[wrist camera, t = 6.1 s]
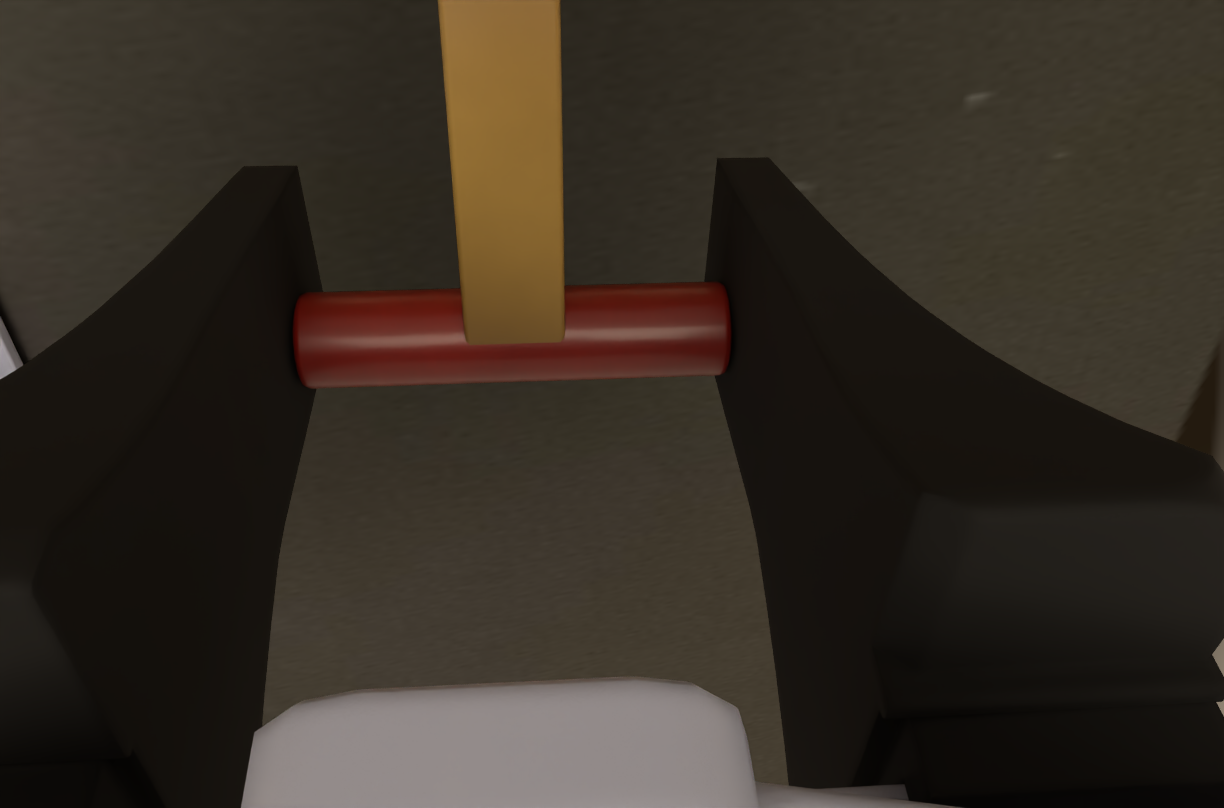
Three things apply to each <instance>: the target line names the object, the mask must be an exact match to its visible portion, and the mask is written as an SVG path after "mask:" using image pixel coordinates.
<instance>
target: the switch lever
mask: <svg viewBox="0 0 1224 808" xmlns="http://www.w3.org/2000/svg"><path fill="white" fill-rule="evenodd" d="M438 13H439V25H440V38H441V50H442V63H443V75H444V88H445V100H446V113H447V125H448V138H449V150H450V163H451V176H452V188H453V201H454V213H455V226H456V238H457V251H458V263H459V276H460V288H451V289H413V290H376V291H338V292H306V293H304V294H302V295H300V296H299V297H298V299H297V302H296V306H295V309H294V316H293V350H294V359H295V364H296V369H297V372H298V375H299V378H300V380H301V382H302V384H303V385H304V386H305V387H308V388H311V389H314V388H344V387H375V386H406V385H437V384H468V383H499V382H530V381H561V380H591V379H622V378H653V377H684V376H715V375H721V374H723V373H725V372H726V370H727V367H728V364H729V361H730V355H731V343H732V323H731V310H730V303H729V298H728V294H727V291H726V289H725V286H724V285H723V284H722V283H719V282H717V281H713V282H676V283H638V284H601V285H565V271H564V205H563V138H562V72H561V6H560V0H438Z"/></svg>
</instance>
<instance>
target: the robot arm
mask: <svg viewBox="0 0 1224 808" xmlns="http://www.w3.org/2000/svg"><path fill="white" fill-rule="evenodd" d="M713 281H717V282H719V283H722V284H723V285H724V286H725V289H726V291H727V294H728V298H729V303H730V310H731V323H732V343H731V355H730V361H729V364H728V367H727V370H726V372H725V373H723V374H721V375H715V378H716V382H717V386H718V390H719V393H720V397H721V401H722V405H723V409H724V412H725V416H726V420H727V424H728V427H729V431H730V435H731V438H732V442H733V446H734V449H735V453H736V457H737V461H738V464H739V468H740V472H741V475H742V479H743V483H744V487H745V490H746V494H747V498H748V501H749V505H750V509H751V514H752V519H753V523H754V528H755V532H756V537H757V544H758V550H759V557H760V563H761V570H762V577H763V583H764V590H765V597H766V603H767V611H768V618H769V625H770V633H771V640H772V648H773V655H774V662H775V670H776V677H777V686H778V694H779V703H780V711H781V719H782V728H783V736H784V744H785V753H786V762H787V772H788V782H789V786H787V785H779V784H771V783H763V782H755V780H754V774H753V768H752V762H751V756H750V751H749V745H748V739H747V735H746V732H745V729H744V726H743V723H742V719H741V716H740V713H739V710H738V708H737V707H735V706H734V705H732V704H730V703H728V702H726V701H725V700H723V699H721V698H719V697H717V696H715V695H713V694H711V693H710V692H708V691H706V690H704V689H702V688H700V687H698V686H696V685H694V684H693V683H691V682H689V681H679V680H669V679H659V678H649V677H638V676H626V677H605V678H584V679H563V680H543V681H522V682H501V683H480V684H460V685H439V686H418V687H397V688H377V689H357V690H352V691H347V692H342V693H337V694H332V695H327V696H322V697H317V698H312V699H307V700H302V701H300V702H299V703H297V704H295V705H294V706H292V707H290V708H289V709H288V710H286V711H285V712H283V713H282V714H280V715H279V716H277V717H276V718H274V719H273V720H271V721H270V722H269V723H267V724H266V725H264V726H263V727H262V718H263V704H264V693H265V682H266V672H267V661H268V651H269V641H270V630H271V621H272V612H273V603H274V594H275V586H276V577H277V568H278V559H279V553H280V547H281V542H282V536H283V531H284V526H285V521H286V517H287V512H288V508H289V504H290V500H291V495H292V491H293V487H294V483H295V479H296V474H297V470H298V466H299V462H300V457H301V453H302V449H303V445H304V440H305V436H306V432H307V428H308V423H309V419H310V415H311V410H312V406H313V402H314V397H315V393H316V388H314V389H311V388H308V387H305V386H304V385H303V384H302V382H301V380H300V378H299V375H298V372H297V369H296V364H295V359H294V350H293V316H294V309H295V306H296V302H297V299H298V297H299V296H300V295H302V294H304V293H306V292H323V290H322V285H321V280H320V275H319V270H318V265H317V261H316V256H315V251H314V246H313V241H312V236H311V231H310V226H309V221H308V216H307V211H306V206H305V201H304V196H303V192H302V187H301V182H300V177H299V172H298V167H297V166H246V167H243V168H242V169H241V170H240V171H239V172H238V173H237V174H236V175H235V176H234V177H233V178H232V179H231V180H230V181H229V182H228V183H227V184H226V185H225V186H224V187H223V188H222V189H221V190H220V191H219V192H218V193H217V194H216V196H215V197H214V198H213V199H212V200H211V201H210V202H209V203H208V204H207V205H206V206H205V207H204V208H203V209H202V210H201V211H200V212H199V214H198V215H197V216H196V217H195V218H194V219H193V220H192V221H191V222H190V223H189V224H188V225H187V226H186V227H185V228H184V229H183V230H182V231H181V232H180V233H179V234H178V235H177V236H176V237H175V238H174V239H173V240H172V241H171V242H170V243H169V244H168V245H167V246H166V247H165V248H164V249H163V251H162V252H161V253H160V254H159V255H158V256H157V257H156V258H155V259H154V260H153V261H151V262H150V263H149V264H148V265H147V266H146V267H145V268H144V269H143V270H141V271H140V272H139V273H138V274H137V275H136V276H135V277H134V278H133V279H131V280H130V281H129V282H128V283H127V284H126V285H125V286H124V287H123V288H121V289H120V290H119V291H118V292H117V293H116V294H115V295H114V296H112V297H111V298H110V299H109V300H108V301H107V302H106V303H105V304H104V305H102V306H101V307H100V308H99V309H98V310H97V311H95V312H94V313H93V314H92V315H91V316H89V317H88V318H87V319H86V320H84V321H83V322H82V323H81V324H79V325H78V326H77V327H75V328H74V329H73V330H71V331H70V332H69V333H68V334H66V335H65V336H64V337H62V338H61V339H59V340H58V341H57V342H55V343H54V344H52V345H51V346H50V347H48V348H47V349H45V350H44V351H43V352H41V353H40V354H39V355H37V356H36V357H34V358H33V359H32V360H30V361H29V362H27V363H26V364H24V365H23V363H22V361H21V359H20V357H19V355H18V352H17V350H16V348H15V346H14V344H13V342H12V340H11V338H10V336H9V334H8V331H7V329H6V327H5V325H4V323H3V321H2V319H1V317H0V808H1224V716H1223V714H1222V713H1221V710H1220V709H1219V707H1218V705H1217V703H1216V702H1222V701H1223V700H1224V677H1223V675H1222V673H1221V671H1220V669H1219V667H1218V665H1217V663H1216V662H1215V659H1214V658H1213V656H1212V654H1213V652H1214V651H1215V650H1216V648H1217V647H1218V645H1219V644H1220V643H1221V641H1222V640H1223V638H1224V472H1223V470H1222V469H1221V467H1220V466H1219V465H1218V463H1217V462H1216V461H1215V459H1214V458H1213V456H1211V455H1208V454H1206V453H1203V452H1200V451H1198V450H1195V449H1193V448H1190V447H1187V446H1185V445H1182V444H1180V443H1177V442H1174V441H1172V440H1169V439H1166V438H1164V437H1161V436H1159V435H1156V434H1153V433H1151V432H1148V431H1145V430H1143V429H1140V428H1138V427H1135V426H1132V425H1130V424H1127V423H1125V422H1123V421H1120V420H1118V419H1116V418H1113V417H1111V416H1109V415H1107V414H1105V413H1103V412H1100V411H1098V410H1096V409H1094V408H1092V407H1090V406H1087V405H1085V404H1083V403H1081V402H1079V401H1077V400H1075V399H1072V398H1070V397H1068V396H1066V395H1064V394H1062V393H1060V392H1058V391H1056V390H1055V389H1053V388H1051V387H1049V386H1047V385H1045V384H1043V383H1041V382H1039V381H1037V380H1035V379H1033V378H1032V377H1030V376H1028V375H1026V374H1025V373H1023V372H1021V371H1020V370H1018V369H1016V368H1014V367H1013V366H1011V365H1009V364H1007V363H1006V362H1004V361H1002V360H1001V359H999V358H997V357H995V356H994V355H992V354H990V353H989V352H987V351H986V350H984V349H982V348H981V347H979V346H978V345H976V344H975V343H973V342H971V341H970V340H968V339H967V338H965V337H964V336H963V335H961V334H960V333H958V332H957V331H955V330H954V329H953V328H951V327H950V326H948V325H947V324H946V323H944V322H943V321H941V320H940V319H939V318H937V317H936V316H934V315H933V314H931V313H930V312H929V311H927V310H926V309H925V308H923V307H922V306H921V305H920V304H918V303H917V302H916V301H914V300H913V299H912V298H911V297H909V296H908V295H907V294H906V293H905V292H903V291H902V290H901V289H900V288H899V287H897V286H896V285H895V284H894V283H893V282H892V281H890V280H889V279H888V278H887V277H886V276H885V275H883V274H882V273H881V272H880V271H879V270H878V269H876V268H875V267H874V266H873V265H872V264H871V263H870V262H869V261H868V260H867V259H866V258H864V257H863V256H862V255H861V254H860V253H859V252H858V251H857V250H856V249H855V248H854V247H853V246H852V245H851V244H850V243H849V242H848V241H847V240H846V239H845V238H844V237H843V236H842V235H841V234H840V233H839V232H838V231H837V230H836V229H835V228H834V227H833V226H832V225H831V224H830V223H829V222H828V221H827V220H826V219H825V218H824V217H823V216H822V215H821V214H820V213H819V212H818V211H817V210H816V208H815V207H814V206H813V205H812V204H811V203H810V202H809V201H808V200H807V199H806V198H805V197H804V196H803V194H802V193H801V192H800V191H799V190H798V189H797V188H796V187H795V186H794V185H793V184H792V182H791V181H790V180H789V179H788V178H787V177H786V176H785V175H784V174H783V173H782V172H781V170H780V169H779V168H778V167H777V166H776V165H775V164H774V163H773V162H772V161H771V160H770V159H769V158H717V167H716V176H715V186H714V195H713V205H712V215H711V224H710V234H709V243H708V253H707V263H706V272H705V282H713Z"/></svg>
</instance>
